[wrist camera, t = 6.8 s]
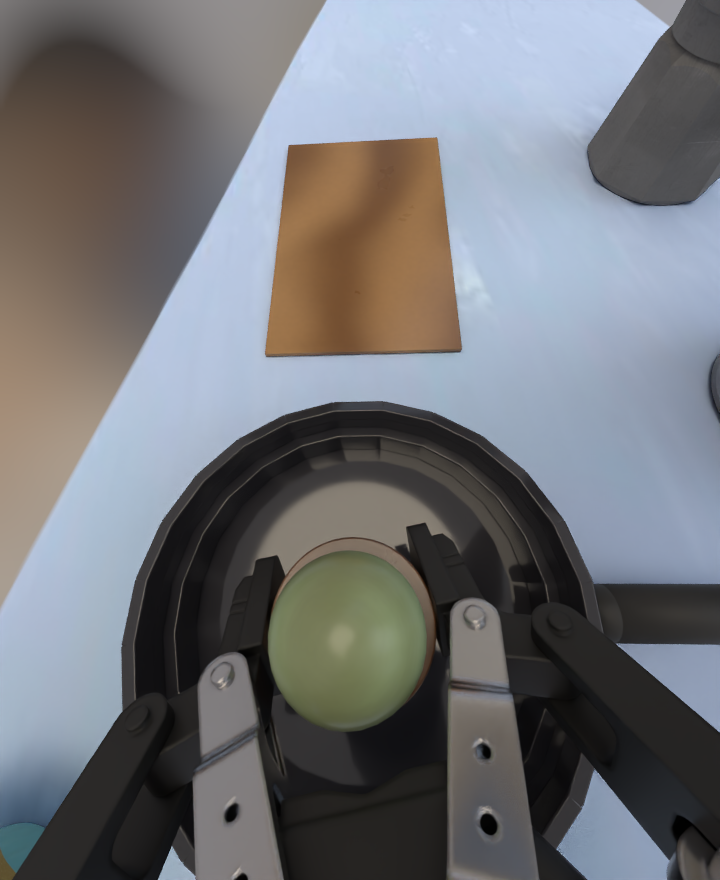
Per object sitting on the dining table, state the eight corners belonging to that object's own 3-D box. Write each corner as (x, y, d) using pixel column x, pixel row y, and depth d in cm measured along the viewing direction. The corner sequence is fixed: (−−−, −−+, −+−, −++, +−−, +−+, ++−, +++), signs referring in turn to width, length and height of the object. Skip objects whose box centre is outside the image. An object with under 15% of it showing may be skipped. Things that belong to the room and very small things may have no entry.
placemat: (436, 141, 29) (437, 137, 28) (460, 351, 22) (462, 348, 21) (289, 149, 29) (288, 145, 29) (266, 356, 22) (264, 354, 22)
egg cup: (411, 550, 17) (453, 520, 8) (417, 666, 15) (480, 811, 6) (312, 550, 17) (234, 521, 8) (306, 665, 16) (199, 802, 6)
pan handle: (789, 583, 14) (851, 585, 12) (811, 640, 14) (881, 651, 12) (559, 583, 15) (585, 584, 13) (568, 637, 14) (598, 647, 12)
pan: (516, 435, 20) (554, 397, 15) (584, 849, 14) (676, 971, 9) (213, 439, 20) (171, 404, 16) (151, 833, 14) (58, 940, 10)
